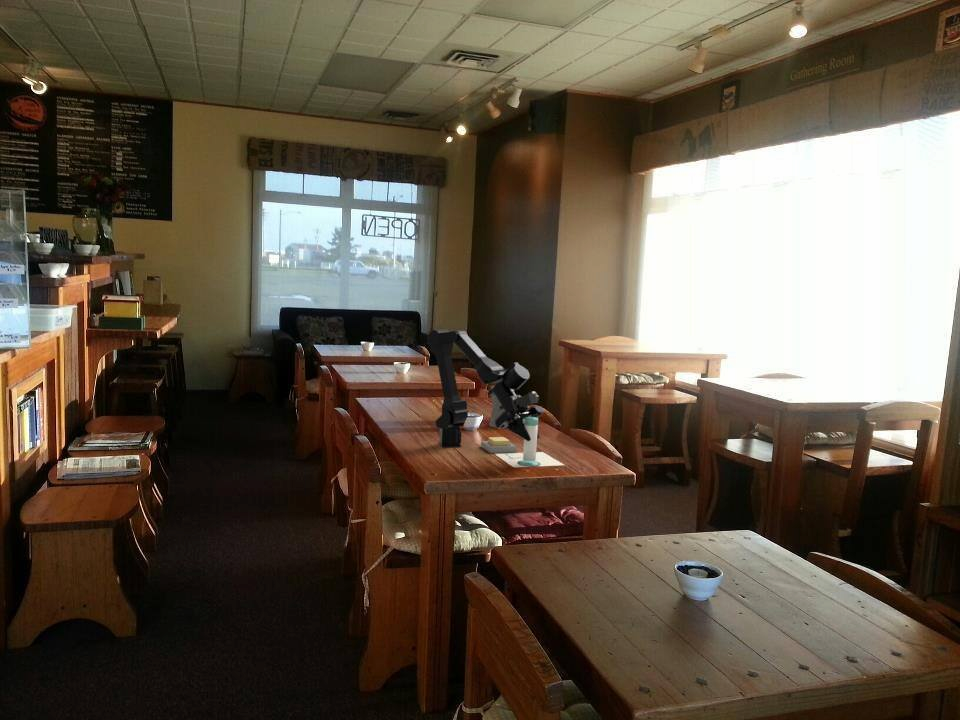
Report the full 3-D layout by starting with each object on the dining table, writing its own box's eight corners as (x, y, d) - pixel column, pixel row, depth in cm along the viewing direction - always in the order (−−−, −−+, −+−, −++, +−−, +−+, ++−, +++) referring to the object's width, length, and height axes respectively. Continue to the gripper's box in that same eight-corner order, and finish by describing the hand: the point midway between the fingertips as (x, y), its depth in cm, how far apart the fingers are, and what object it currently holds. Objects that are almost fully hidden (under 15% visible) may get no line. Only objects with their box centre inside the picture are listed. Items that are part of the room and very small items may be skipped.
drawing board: (512, 469, 230) (512, 467, 230) (492, 454, 247) (492, 452, 247) (566, 467, 236) (567, 464, 236) (543, 453, 253) (543, 451, 253)
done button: (493, 447, 249) (494, 441, 249) (488, 443, 254) (488, 437, 254) (509, 447, 251) (509, 440, 251) (503, 443, 256) (503, 437, 256)
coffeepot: (502, 430, 286) (504, 382, 284) (481, 426, 291) (483, 379, 289) (522, 424, 299) (525, 379, 296) (502, 421, 304) (504, 376, 302)
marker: (523, 460, 234) (525, 419, 232) (522, 457, 238) (524, 416, 236) (536, 461, 234) (538, 419, 232) (535, 458, 238) (537, 417, 236)
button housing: (490, 454, 247) (490, 447, 247) (481, 448, 256) (481, 441, 255) (516, 453, 250) (516, 446, 250) (506, 447, 259) (506, 440, 258)
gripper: (504, 385, 229) (531, 428, 223) (541, 380, 243) (567, 420, 237) (482, 407, 235) (509, 449, 229) (520, 401, 249) (545, 441, 243)
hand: (534, 439), depth 234 cm, fingers closed on marker, 4 cm apart
